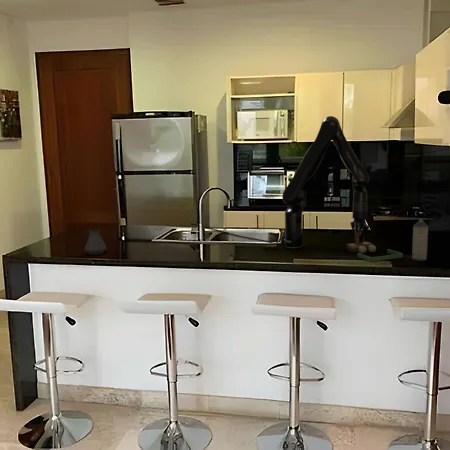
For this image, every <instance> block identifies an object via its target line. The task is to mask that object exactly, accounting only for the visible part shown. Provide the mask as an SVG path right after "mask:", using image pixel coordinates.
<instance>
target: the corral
mask: <svg viewBox="0 0 450 450" xmlns="http://www.w3.org/2000/svg"><path fill="white" fill-rule="evenodd" d="M386 253H387V254H388V255H380V256H372V257H371V256H368V255H367V254H361V253H360V252H356V257H357V258H359V259H362V260H365V261H368V262H380V261H388V260H394V259H402V258H404V253H403V252H400V251H396V250H392V249H389V248H387V249H386Z"/></svg>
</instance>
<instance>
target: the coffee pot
mask: <svg viewBox="0 0 450 450" xmlns="http://www.w3.org/2000/svg"><path fill="white" fill-rule="evenodd" d="M100 225H101V221H98V222H97V225H96V228H94V229H93V228H92V229H89V230H88V233H89V235H88V237H87V241H86V244H85V246H84V251H85V252H86V254H88V255H90V256H98V255H99V256H100V255H102V254H104V253H105V251H106V250H107V245H106V244H105V242H104V240H103V238H102V236H101V231H102V230H101V229H100Z"/></svg>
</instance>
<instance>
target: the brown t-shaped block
mask: <svg viewBox="0 0 450 450" xmlns="http://www.w3.org/2000/svg"><path fill="white" fill-rule="evenodd" d="M361 233H362V231H361ZM370 245H373V244H372V242H368V241H365V235H364V236H363V242H362V243H359V232H356V233H354V243H346V246H345V251H346V252H349V253H360V252H359V247H360V246H365V247H366V249H367V250H366V252H367V251H369V250H368V247H369V246H370Z"/></svg>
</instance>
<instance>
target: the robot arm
mask: <svg viewBox="0 0 450 450" xmlns="http://www.w3.org/2000/svg"><path fill="white" fill-rule="evenodd" d="M332 142H333V144H334V146H335V148H336V150H337V153H338V154H339V157H340V159H341V161H342V163H343V164H344V166H345V168H346V169H347V171H349V172H350V173H351V174H352V176H351V186H352V192H353V193H352V195H353V197H352V216H351V218H352V219H353V221H351V222H350V227H351V231H352V233H353V234H355V233H356V232H359V243H362V242H363V236H364V237H365V236H366V235H367V234H368V231H369V228H370V225H369V224H367V222H366V220H367V219H368V191H367V190H366V185H368V183H370V175H369V173H368V172H367V170H366V168H364V166H363V165H362V164H361V163H360V161H359V158H358V157H357V155H356V154H355V152H354V150H353V149H352V147H351V146H350V144H349V142H348V140H347V138H346V136H345V135H344V131H343V130H342V126H341V123H340V121H339V119H338V118H337V117H335V116H333V115H328V116H326V117H325V118H324V119H323V120H322V121H321V124H320V127H319V130H318V133H317V135H316V136H315V139H314V141H313V142H312V144H311V145H310V146H309V147H308V149H307V151H306V152H305V153H304V155H303V157H302V159H301V161H300V163H299V165H298V166H297V169H296V170H295V173H294V175H293V177H292V178H291V180H290V181H289V183H288V184H287V186H286V187H285V189H284V190H283V192H282V195H281V196H282V197H281V198H282V201H283V203H284V204H286V205H287V209H286V210H285V211H284V234H283V235H281V237H280V238H279V239H278V240H277V241H276V242H273V241H271V240H266V239H260V238H254V237H249V236H244V235H240V234H235V233H231V232H227V231H224V230H221V229H217V228H214V227H209V226H205V225H204V226H205V227H204V228H205V229H210V230H213V231H217V232H220V233H223V234H227V235H231V236H234V237H239V238H244V239H248V240H253V241H259V242H260V241H261V242H265V243H269V244H273V245H274V244H275V245H277V244H279V243H280V242H281V240H282V241H284V248H286V249H289V250H290V249H291V250H292V249H293V250H297V249H302V248H303V212H304V209H305V208H304V207H305V205H304V204H305V194H304V191H303V189H302V188H303V187H304V186H305V184H306V183H307V182H308V181H309V180H310V179H311V178H312V177H313V176H314V174H315V173H316V172H317V170H318V168H319V166H320V165H321V163H322V161H323V158H324V157H325V154H326V152H327V149H328V147H329V145H330V144H331V143H332ZM190 225H192V226H197V227H200V226H199V225H200V224H196V223H190ZM361 232H362V233H361Z"/></svg>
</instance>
